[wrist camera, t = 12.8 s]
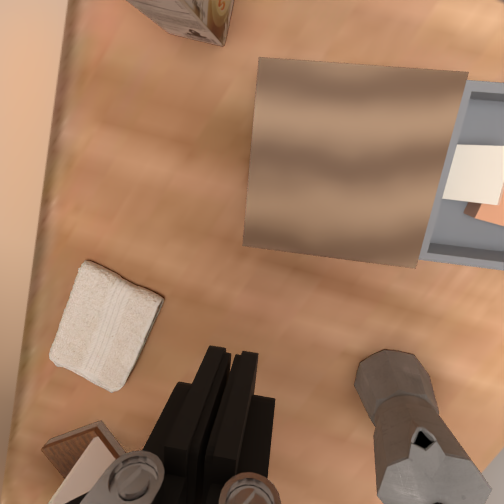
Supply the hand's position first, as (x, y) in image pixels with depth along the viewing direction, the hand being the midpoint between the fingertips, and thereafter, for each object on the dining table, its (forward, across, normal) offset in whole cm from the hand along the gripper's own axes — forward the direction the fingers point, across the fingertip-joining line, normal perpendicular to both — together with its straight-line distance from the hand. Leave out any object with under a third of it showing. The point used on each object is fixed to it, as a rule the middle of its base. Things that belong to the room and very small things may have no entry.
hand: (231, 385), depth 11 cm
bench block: (+29, -5, -6) cm, 30 cm away
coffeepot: (+29, -17, +21) cm, 40 cm away
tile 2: (+25, -17, -7) cm, 31 cm away
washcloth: (+30, +22, +19) cm, 42 cm away
